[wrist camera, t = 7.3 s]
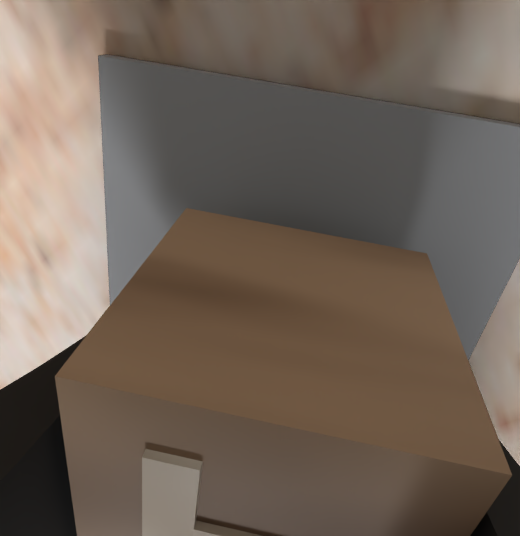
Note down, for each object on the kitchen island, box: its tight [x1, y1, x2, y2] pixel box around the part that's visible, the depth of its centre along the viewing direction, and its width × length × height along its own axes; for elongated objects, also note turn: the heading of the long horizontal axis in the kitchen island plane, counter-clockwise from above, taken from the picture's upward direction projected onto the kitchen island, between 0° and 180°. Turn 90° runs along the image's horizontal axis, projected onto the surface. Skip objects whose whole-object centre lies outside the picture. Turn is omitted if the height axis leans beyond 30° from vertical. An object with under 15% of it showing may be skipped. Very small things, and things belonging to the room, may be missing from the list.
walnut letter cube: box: [55, 208, 512, 536], centre depth 8 cm, size 5×5×5 cm
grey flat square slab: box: [98, 54, 520, 360], centre depth 12 cm, size 10×10×1 cm
